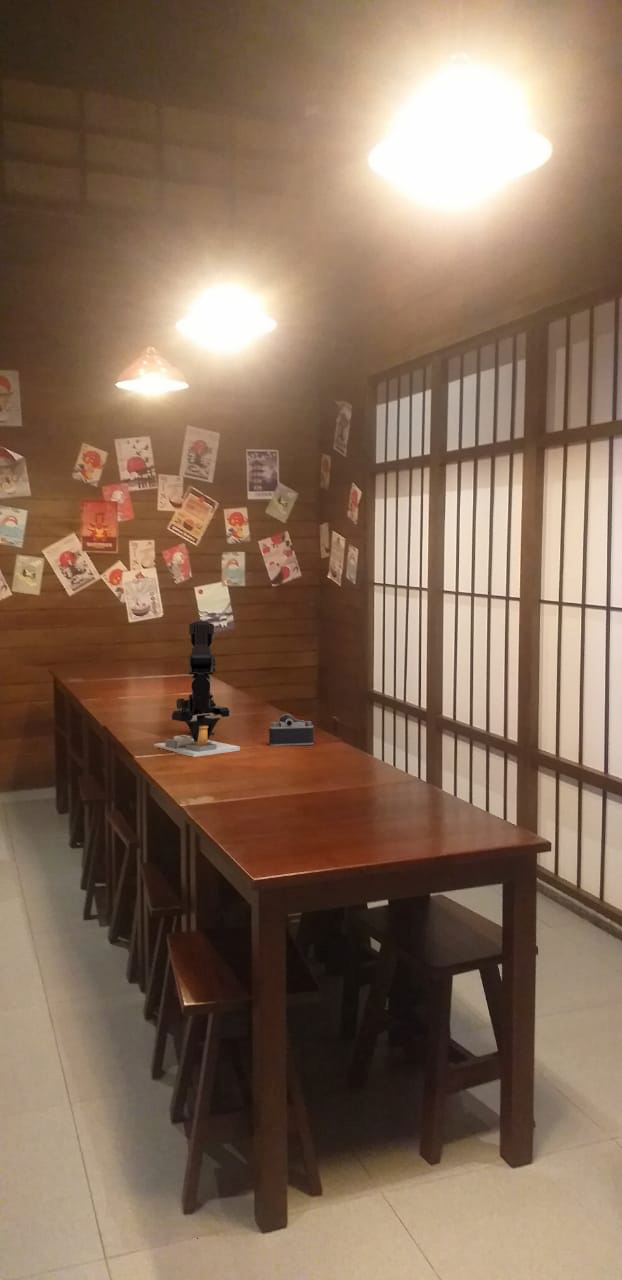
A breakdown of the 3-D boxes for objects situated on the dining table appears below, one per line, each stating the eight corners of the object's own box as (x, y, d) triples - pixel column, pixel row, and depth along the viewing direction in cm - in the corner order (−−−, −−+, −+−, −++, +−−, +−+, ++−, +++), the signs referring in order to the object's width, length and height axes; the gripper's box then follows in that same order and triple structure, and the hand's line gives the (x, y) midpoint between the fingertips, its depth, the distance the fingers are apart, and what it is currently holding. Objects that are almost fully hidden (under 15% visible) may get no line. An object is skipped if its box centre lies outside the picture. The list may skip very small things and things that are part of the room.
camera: (310, 740, 335) (310, 711, 334) (315, 744, 326) (315, 715, 326) (265, 742, 332) (265, 712, 331) (269, 746, 323) (269, 716, 323)
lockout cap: (202, 743, 313) (202, 724, 312) (211, 744, 309) (211, 726, 309) (190, 744, 309) (190, 725, 309) (199, 746, 306) (199, 727, 306)
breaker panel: (199, 741, 330) (199, 731, 330) (239, 750, 314) (239, 739, 314) (154, 747, 318) (154, 736, 318) (194, 757, 302) (194, 745, 302)
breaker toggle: (183, 744, 318) (183, 734, 317) (191, 745, 315) (191, 736, 315) (173, 745, 315) (173, 735, 315) (180, 747, 312) (180, 737, 312)
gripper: (209, 687, 321) (209, 734, 322) (161, 691, 308) (161, 740, 309) (230, 690, 312) (230, 738, 313) (182, 694, 300) (182, 745, 301)
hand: (201, 740), depth 309 cm, fingers closed on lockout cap, 4 cm apart
